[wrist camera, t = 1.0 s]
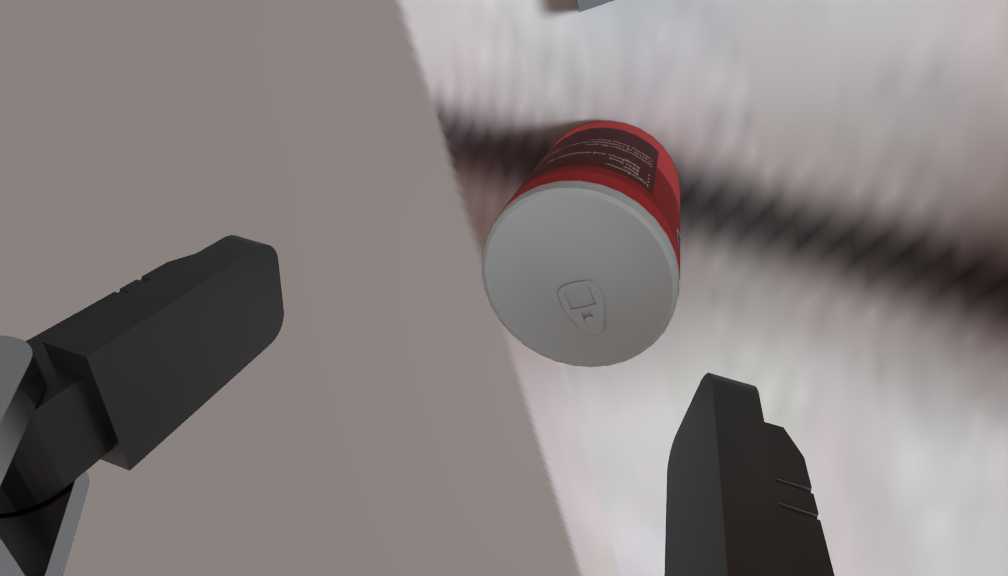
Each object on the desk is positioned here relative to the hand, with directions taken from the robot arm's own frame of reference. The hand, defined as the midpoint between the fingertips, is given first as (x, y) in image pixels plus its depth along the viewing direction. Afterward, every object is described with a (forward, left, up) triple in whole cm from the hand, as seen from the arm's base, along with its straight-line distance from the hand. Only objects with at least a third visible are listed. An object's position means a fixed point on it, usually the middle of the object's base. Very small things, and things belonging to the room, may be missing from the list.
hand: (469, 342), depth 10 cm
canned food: (+1, +4, -21) cm, 22 cm away
